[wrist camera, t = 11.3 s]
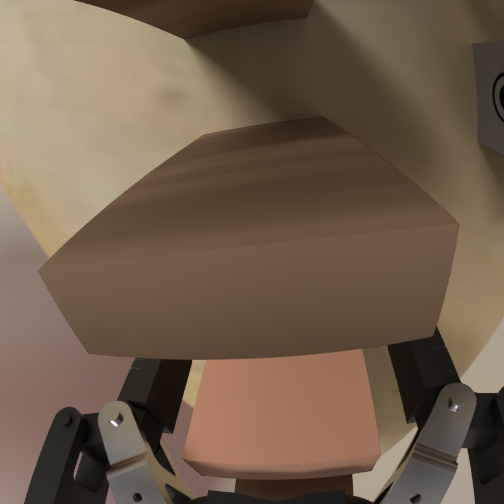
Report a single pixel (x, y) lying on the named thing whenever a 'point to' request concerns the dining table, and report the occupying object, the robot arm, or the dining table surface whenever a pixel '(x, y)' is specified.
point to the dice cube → (490, 93)
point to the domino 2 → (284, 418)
